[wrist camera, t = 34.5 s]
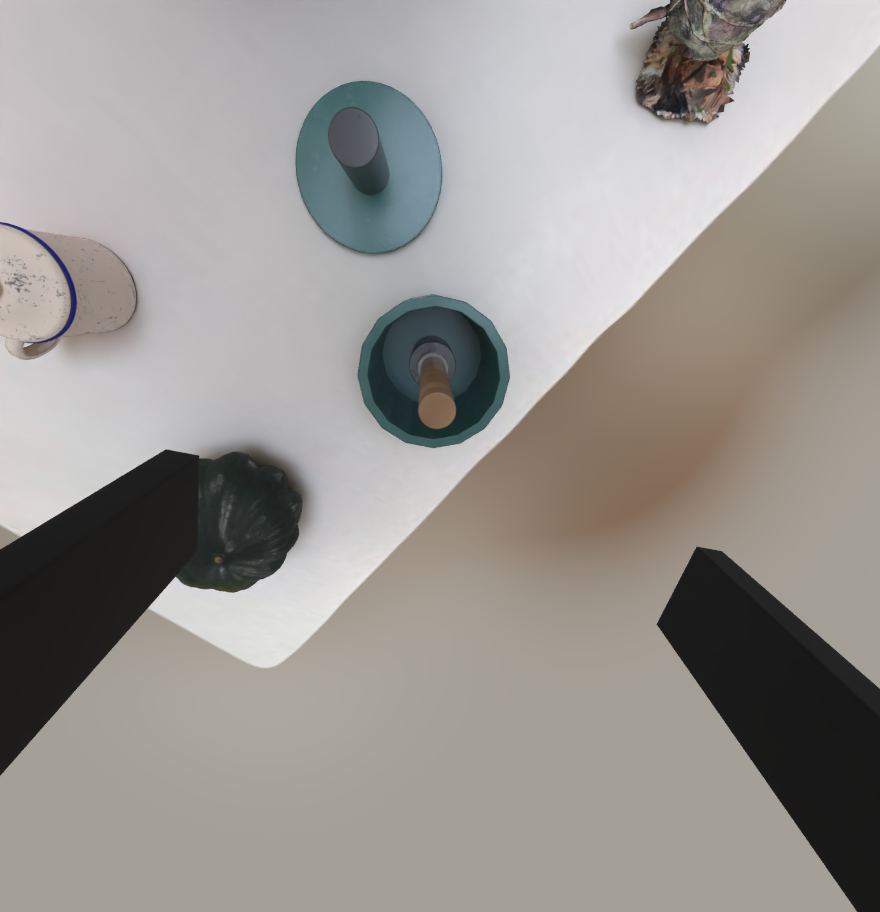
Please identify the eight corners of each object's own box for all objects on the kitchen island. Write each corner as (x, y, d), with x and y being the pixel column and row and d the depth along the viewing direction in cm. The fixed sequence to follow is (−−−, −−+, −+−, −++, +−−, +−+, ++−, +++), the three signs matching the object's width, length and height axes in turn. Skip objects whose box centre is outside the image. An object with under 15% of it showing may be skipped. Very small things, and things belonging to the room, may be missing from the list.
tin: (368, 396, 47) (348, 431, 35) (386, 283, 42) (371, 279, 31) (472, 418, 48) (487, 458, 36) (499, 310, 44) (527, 316, 32)
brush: (407, 372, 45) (393, 438, 25) (415, 331, 44) (407, 365, 23) (447, 381, 46) (465, 453, 25) (456, 340, 44) (483, 382, 24)
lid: (292, 235, 41) (252, 218, 31) (306, 67, 36) (264, -13, 27) (425, 267, 42) (425, 260, 33) (455, 110, 37) (466, 48, 28)
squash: (128, 549, 46) (164, 646, 37) (146, 426, 42) (191, 502, 33) (256, 532, 57) (307, 605, 48) (280, 433, 53) (342, 492, 44)
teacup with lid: (59, 214, 39) (-81, 184, 28) (154, 273, 41) (58, 267, 31) (24, 324, 43) (-113, 335, 32) (113, 374, 45) (13, 400, 34)
